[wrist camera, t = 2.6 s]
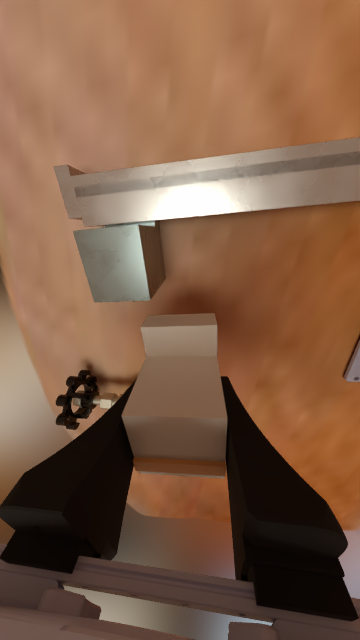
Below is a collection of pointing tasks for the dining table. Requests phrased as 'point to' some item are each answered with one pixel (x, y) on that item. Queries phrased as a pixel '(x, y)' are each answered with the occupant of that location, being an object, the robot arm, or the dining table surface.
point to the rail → (191, 204)
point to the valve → (82, 400)
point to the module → (178, 399)
